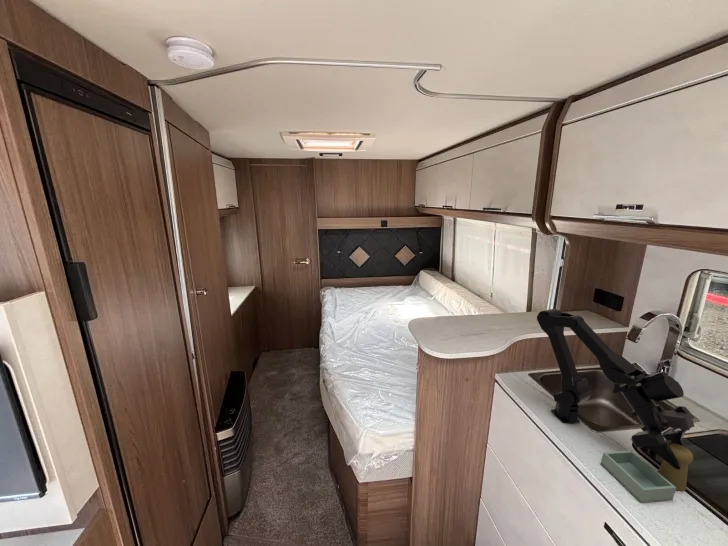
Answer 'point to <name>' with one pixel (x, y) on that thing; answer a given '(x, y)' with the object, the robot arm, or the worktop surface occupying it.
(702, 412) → the worktop surface
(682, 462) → the cork
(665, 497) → the tray
